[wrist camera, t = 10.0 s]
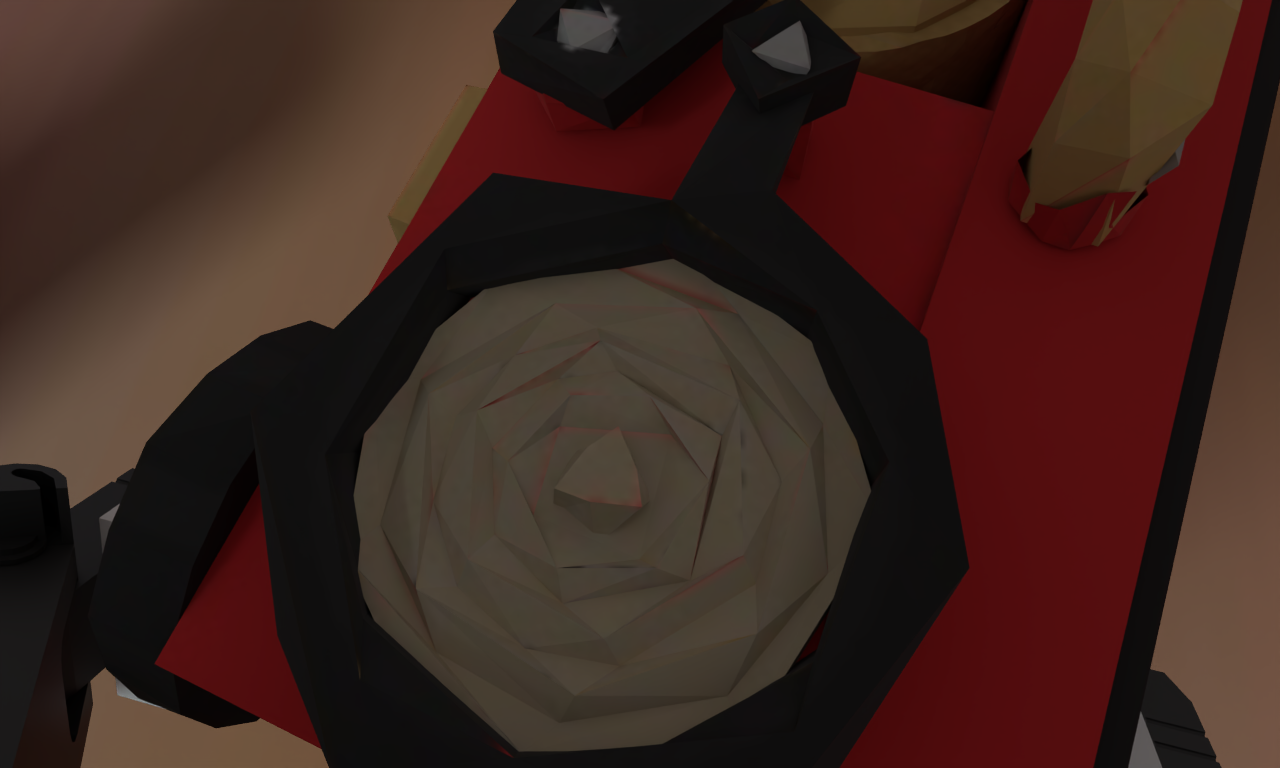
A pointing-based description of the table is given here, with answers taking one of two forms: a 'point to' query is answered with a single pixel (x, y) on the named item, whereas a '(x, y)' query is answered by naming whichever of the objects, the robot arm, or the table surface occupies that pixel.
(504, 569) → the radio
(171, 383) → the table surface
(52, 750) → the robot arm
